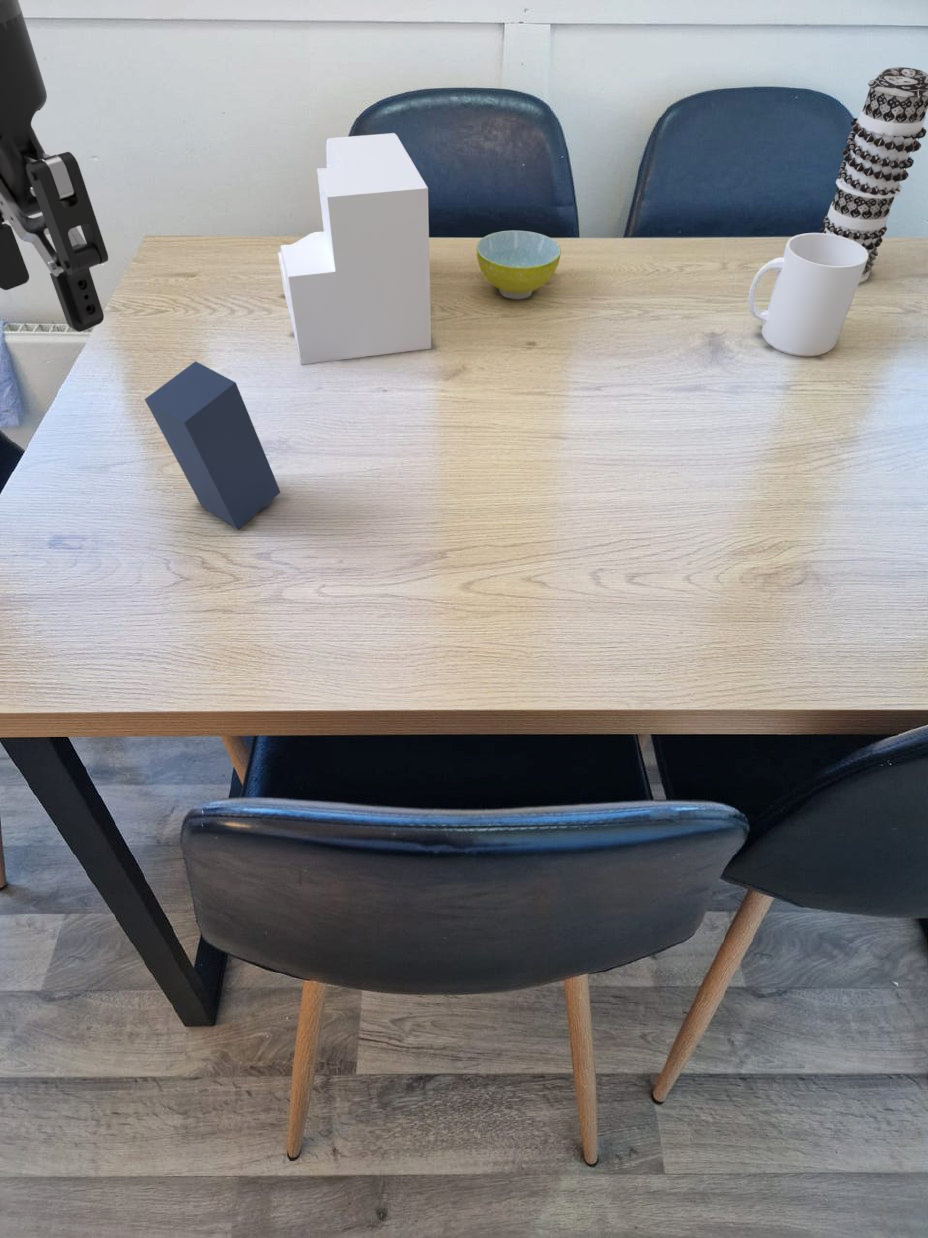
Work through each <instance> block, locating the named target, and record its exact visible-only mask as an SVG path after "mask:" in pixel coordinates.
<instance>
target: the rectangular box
mask: <svg viewBox="0 0 928 1238" xmlns="http://www.w3.org/2000/svg"><path fill="white" fill-rule="evenodd" d="M144 401H145V403H146V405H147V408H148V409H149V410H150V413H151V414H152V416H153V419H154V420H155V422H156V424H157V425H158V427H159V429H160V430H161V433H162V436H163V437H164V438H165V440H166V443H167V444H168V447H169V448H170V450H171V451H172V454H173V456H174V457H175V459H176V461H177V463H178V465H179V467H180V469H181V471H182V472H183V475H184V477H185V478H186V479H187V482H188V484H189V486H190V487H191V489H192V491H193V493H194V495H195V497H196V499H197V500H198V503H199V504H200V506H201V507H202V509H204V510H205V511H208V513H211V514H212V515H213V516H215V517H217V518H218V519H220V520H221V521H223V522H225V523H226V524H228V525H229V526H231V527H232V528H233V529H235V530H237V531H238V530H240V529H241V528H242V527H243V526H244V525H246V523H248V522H249V521H250V520H251V519H252V518H253V517H254V516H256V515H257V514H258V513H259V512H260V511H261V510H262V509H263V508H264V507H266V506H267V505H268V504H269V503H271V502H272V501H273V500H274V499H275V498H276V497H277V496H278V495H280V494H281V490H280V487H279V484H278V482H277V480H276V477H275V475H274V472H273V470H272V468H271V465H270V463H269V460H268V458H267V456H266V453H265V451H264V448H263V445H262V443H261V440H260V439H259V436H258V434H257V431H256V429H255V426H254V424H253V421H252V418H251V417H250V413H249V411H248V409H247V407H246V405H245V401H244V399H243V396H242V394H241V391H240V390H239V387H238V385H237V382H236V381H234V380H231V379H230V378H228V377H226V376H225V375H223V374H220V373H219V372H217V371H216V370H213V369H211V368H209V367H207V366H206V365H204V364H202V363H200V362H198V361H196V360H195V361H194V362H192V363H191V364H190V365H188V366H187V367H186V368H184V369H183V370H181V371H180V372H179V373H177V374H176V375H175V376H173V377H172V378H171V379H169V380H168V381H167V382H166V383H164V384H162V386H160V387H159V388H157V389H156V390H155V391H153V392H152V393H150V394H149V395H148V396H147V397H146V398H144Z"/></svg>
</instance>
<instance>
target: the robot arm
mask: <svg viewBox="0 0 928 1238" xmlns="http://www.w3.org/2000/svg"><path fill="white" fill-rule="evenodd" d="M47 99H48V95H47V89H46V86H45V83H44V80H43V76H42V73H41V69H40V66H39V64H38V60H37V57H36V53H35V50H34V47H33V44H32V40H31V37H30V34H29V31H28V28H27V24H26V21H25V17H24V14H23V11H22V9H21V5H20V1H19V0H0V289H1V290H4V291H9V290H11V289H14V288H17V287H20V286H23V285H25V284H27V283H28V282H29V280H30V274H29V271H28V268H27V265H26V262H25V260H24V257H23V255H22V252H21V250H20V246H19V244H18V242H17V239H16V236H15V234H16V235H17V237H18V238H19V239H20V240H21V241H23V242H26V243H30V244H31V245H33V247H34V248H35V250H36V251H37V253H38V255H39V256H40V258H41V259H42V261H43V263H44V264H45V266H46V267H47V268H48V270H49V271H50V273H49V276H50V279H51V281H52V284H53V287H54V290H55V293H56V296H57V299H58V301H59V304H60V307H61V309H62V313H63V315H64V318H65V321H66V323H67V326H68V327H70V328H71V329H73V330H75V331H76V332H80V333H81V332H84V331H87V330H88V329H91V328H93V327H96V326H98V325H101V324H102V322H103V321H104V318H105V314H104V310H103V307H102V305H101V301H100V299H99V295H98V292H97V288H96V285H95V283H94V279H93V276H92V273H91V270H90V269H91V268H93V267H94V266H97V265H101V264H103V263H106V262H108V261H109V255H108V254H109V253H108V251H107V248H106V245H105V242H104V239H103V236H102V232H101V229H100V227H99V223H98V220H97V217H96V214H95V211H94V208H93V205H92V201H91V199H90V196H89V193H88V190H87V187H86V184H85V180H84V178H83V174H82V172H81V168H80V165H79V162H78V160H77V159H76V157H75V156H74V154H72V153H71V152H70V151H64V152H62V153H58V154H52V155H50V154H46V152H45V150H44V148H43V146H42V144H41V143H40V141H39V139H38V136H37V135H36V132H35V130H34V129H33V126H32V121H33V119H34V117H35V115H36V113H37V112H38V111H41V110H42V109H43V107H44V106H45V104H46V103H47ZM40 213H41V215H39V216H38V215H37V214H40ZM34 215H37V216H36V217H32V216H34ZM5 222H6V223H5ZM7 222H8V223H9V224H10V225H9V224H7ZM77 227H80V229H81V231H82V234H81V233H80V231H79V229H78V228H77ZM14 232H15V234H14ZM47 235H49V236H50V239H51V242H52V243H51V242H50V240H49V239H48V237H47ZM82 235H83V236H82Z"/></svg>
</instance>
